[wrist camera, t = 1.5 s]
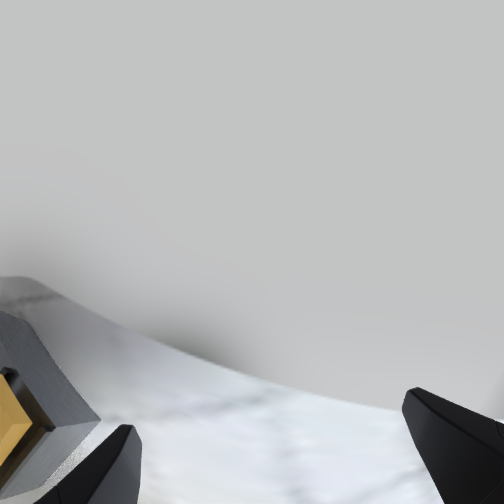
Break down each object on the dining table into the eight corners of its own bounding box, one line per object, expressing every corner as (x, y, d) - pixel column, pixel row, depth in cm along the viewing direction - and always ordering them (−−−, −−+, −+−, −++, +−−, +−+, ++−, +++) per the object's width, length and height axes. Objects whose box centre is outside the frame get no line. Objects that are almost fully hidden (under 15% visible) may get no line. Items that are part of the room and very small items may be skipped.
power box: (101, 419, 20) (49, 428, 12) (39, 487, 15) (-9, 502, 8) (24, 315, 23) (-26, 290, 16) (-25, 387, 19) (-74, 377, 12)
